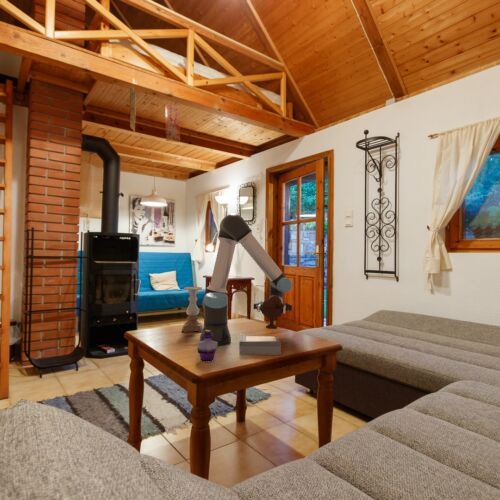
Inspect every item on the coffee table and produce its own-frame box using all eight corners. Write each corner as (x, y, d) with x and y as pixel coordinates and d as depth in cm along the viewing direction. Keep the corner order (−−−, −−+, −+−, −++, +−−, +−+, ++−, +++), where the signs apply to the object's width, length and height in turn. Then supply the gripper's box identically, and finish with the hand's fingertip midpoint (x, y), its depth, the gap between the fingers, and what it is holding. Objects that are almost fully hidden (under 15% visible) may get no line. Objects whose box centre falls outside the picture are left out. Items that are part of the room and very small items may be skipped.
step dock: (239, 354, 150) (239, 341, 150) (239, 343, 168) (239, 332, 168) (280, 354, 150) (281, 341, 150) (276, 343, 168) (277, 332, 168)
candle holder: (183, 328, 200) (184, 286, 200) (202, 327, 201) (203, 286, 202) (181, 332, 189) (182, 288, 190) (201, 332, 191) (202, 288, 191)
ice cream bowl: (278, 324, 169) (279, 294, 169) (286, 330, 158) (287, 297, 158) (257, 325, 167) (258, 294, 167) (263, 330, 156) (264, 297, 156)
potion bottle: (195, 357, 145) (195, 328, 145) (215, 355, 147) (215, 327, 147) (198, 364, 136) (198, 333, 136) (219, 362, 139) (220, 332, 139)
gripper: (297, 311, 178) (297, 319, 157) (252, 309, 182) (245, 316, 160) (297, 296, 179) (297, 302, 157) (252, 294, 182) (246, 300, 160)
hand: (271, 309), depth 159 cm, fingers closed on ice cream bowl, 11 cm apart
